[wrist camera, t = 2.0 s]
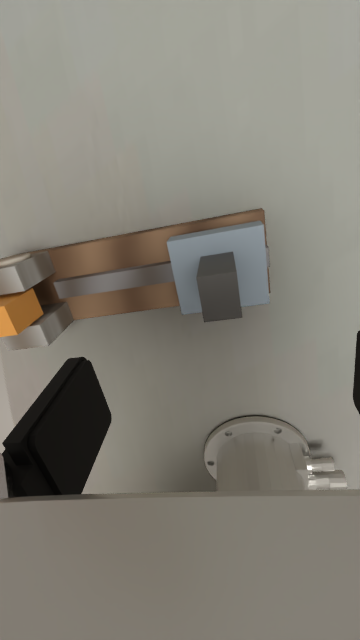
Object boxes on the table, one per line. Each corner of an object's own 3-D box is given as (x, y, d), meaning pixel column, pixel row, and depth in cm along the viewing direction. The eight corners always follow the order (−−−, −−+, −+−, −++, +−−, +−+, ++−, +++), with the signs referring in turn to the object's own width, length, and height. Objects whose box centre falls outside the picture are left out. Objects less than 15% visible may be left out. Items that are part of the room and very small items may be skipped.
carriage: (260, 220, 23) (275, 238, 17) (266, 294, 25) (281, 334, 19) (170, 236, 24) (153, 259, 18) (184, 305, 27) (173, 346, 20)
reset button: (32, 288, 25) (3, 306, 22) (43, 313, 26) (17, 334, 23) (5, 292, 26) (-27, 310, 22) (17, 317, 27) (-12, 338, 23)
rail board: (261, 204, 25) (274, 214, 19) (267, 287, 28) (280, 317, 22) (17, 251, 29) (-33, 270, 23) (45, 318, 32) (7, 350, 26)
